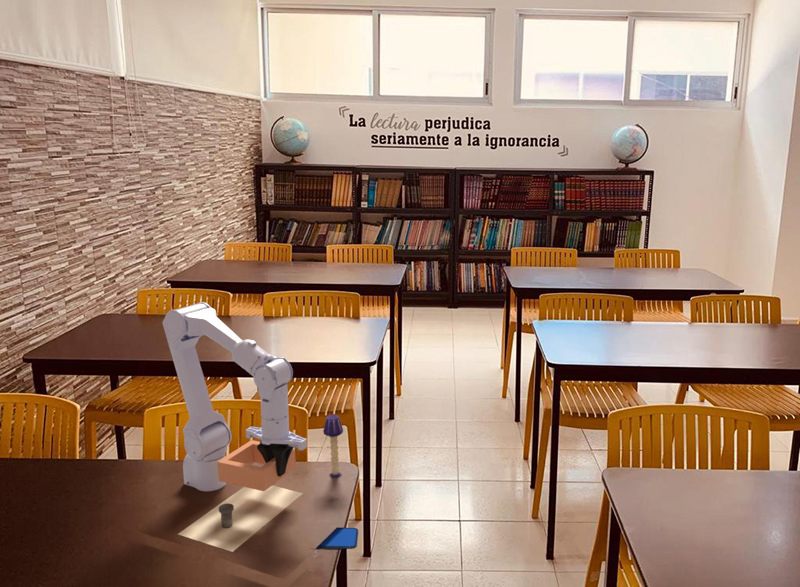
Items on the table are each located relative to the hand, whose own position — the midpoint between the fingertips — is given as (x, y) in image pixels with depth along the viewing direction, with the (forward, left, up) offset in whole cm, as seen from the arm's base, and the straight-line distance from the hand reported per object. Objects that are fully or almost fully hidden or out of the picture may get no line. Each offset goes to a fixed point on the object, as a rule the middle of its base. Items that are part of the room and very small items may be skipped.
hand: (277, 473), depth 149 cm
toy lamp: (+4, +18, -10) cm, 20 cm away
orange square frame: (-5, 0, -1) cm, 5 cm away
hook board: (-5, -5, -9) cm, 12 cm away
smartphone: (+14, -4, -10) cm, 18 cm away
